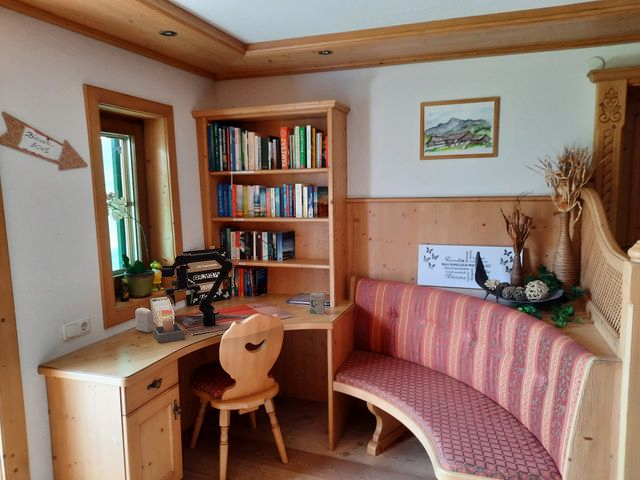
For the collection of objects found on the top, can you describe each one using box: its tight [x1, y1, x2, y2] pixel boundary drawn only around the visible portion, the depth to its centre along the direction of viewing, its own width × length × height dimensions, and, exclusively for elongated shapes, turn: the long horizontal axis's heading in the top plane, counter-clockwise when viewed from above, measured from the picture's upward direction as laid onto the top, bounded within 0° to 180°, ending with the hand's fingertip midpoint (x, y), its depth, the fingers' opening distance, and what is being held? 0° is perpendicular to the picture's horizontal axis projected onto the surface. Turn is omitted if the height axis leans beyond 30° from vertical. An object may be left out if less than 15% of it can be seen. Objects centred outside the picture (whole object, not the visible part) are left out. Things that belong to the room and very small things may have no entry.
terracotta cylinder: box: [162, 318, 174, 334], centre depth 239 cm, size 5×5×8 cm
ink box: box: [309, 292, 326, 315], centre depth 280 cm, size 9×5×12 cm, turn 73°
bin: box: [153, 323, 185, 344], centre depth 239 cm, size 12×14×4 cm
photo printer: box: [134, 307, 154, 333], centre depth 249 cm, size 10×4×12 cm, turn 60°
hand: (183, 304), depth 256 cm, fingers open, 9 cm apart
